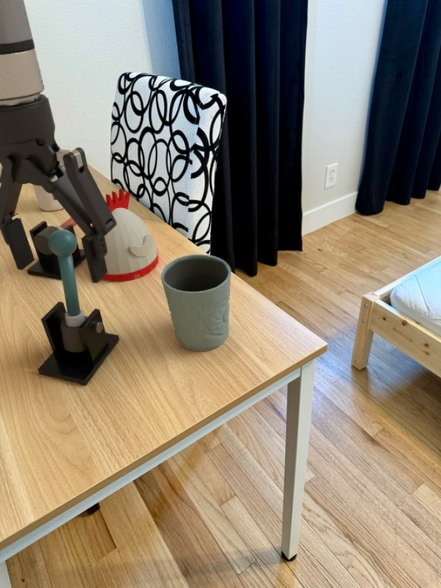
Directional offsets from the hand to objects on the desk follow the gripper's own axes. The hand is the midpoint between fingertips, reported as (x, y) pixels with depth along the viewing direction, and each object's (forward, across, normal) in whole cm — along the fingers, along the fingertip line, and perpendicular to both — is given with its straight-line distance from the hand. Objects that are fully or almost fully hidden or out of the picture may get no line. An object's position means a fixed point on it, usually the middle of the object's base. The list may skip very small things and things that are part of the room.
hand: (62, 270), depth 58 cm
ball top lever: (+4, 0, -3) cm, 5 cm away
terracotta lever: (+11, +19, -27) cm, 35 cm away
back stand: (+15, +19, -22) cm, 32 cm away
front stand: (+15, 0, 0) cm, 15 cm away
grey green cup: (+15, -16, -9) cm, 24 cm away
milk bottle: (+15, +37, -45) cm, 60 cm away
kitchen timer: (+15, +6, -25) cm, 30 cm away
